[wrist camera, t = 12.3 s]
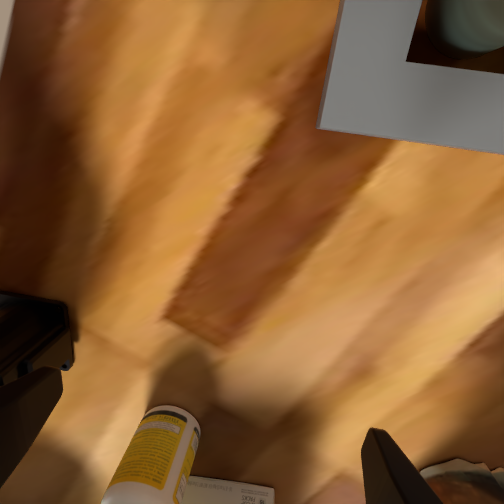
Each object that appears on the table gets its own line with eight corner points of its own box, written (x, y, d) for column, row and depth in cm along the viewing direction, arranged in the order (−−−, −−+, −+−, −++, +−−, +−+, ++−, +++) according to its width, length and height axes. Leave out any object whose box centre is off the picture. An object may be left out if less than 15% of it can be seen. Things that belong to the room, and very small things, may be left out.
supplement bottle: (131, 416, 28) (55, 553, 19) (176, 393, 26) (117, 531, 17) (169, 454, 29) (115, 599, 20) (214, 435, 28) (178, 582, 19)
